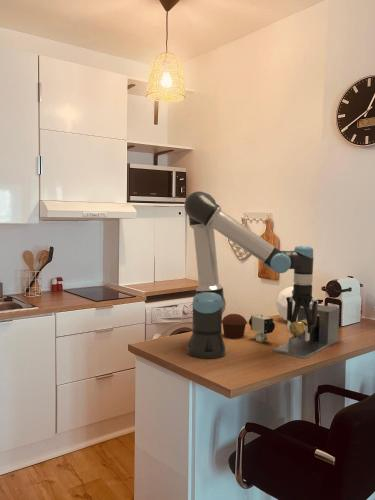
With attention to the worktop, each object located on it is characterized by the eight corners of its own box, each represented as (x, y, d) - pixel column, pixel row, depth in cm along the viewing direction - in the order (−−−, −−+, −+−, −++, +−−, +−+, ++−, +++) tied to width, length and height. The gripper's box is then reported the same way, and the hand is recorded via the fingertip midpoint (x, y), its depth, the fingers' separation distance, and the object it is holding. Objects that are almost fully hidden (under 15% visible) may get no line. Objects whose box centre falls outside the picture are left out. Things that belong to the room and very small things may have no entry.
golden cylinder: (289, 334, 181) (289, 320, 181) (304, 328, 193) (305, 314, 193) (302, 337, 178) (303, 323, 177) (317, 330, 189) (318, 317, 189)
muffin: (218, 337, 200) (218, 315, 199) (224, 332, 210) (224, 311, 209) (244, 340, 196) (244, 318, 195) (249, 334, 206) (249, 313, 206)
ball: (298, 337, 228) (297, 311, 216) (269, 317, 242) (267, 291, 229) (322, 316, 235) (322, 290, 223) (293, 298, 249) (292, 272, 236)
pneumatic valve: (267, 345, 188) (267, 317, 188) (248, 339, 198) (248, 312, 197) (276, 343, 192) (276, 316, 191) (257, 337, 201) (257, 311, 200)
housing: (273, 351, 180) (274, 315, 179) (308, 335, 206) (309, 303, 205) (305, 358, 171) (306, 320, 170) (338, 340, 198) (339, 307, 196)
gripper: (327, 285, 179) (325, 341, 181) (287, 280, 190) (285, 333, 192) (320, 287, 173) (317, 345, 175) (278, 282, 185) (277, 337, 186)
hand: (300, 339), depth 184 cm, fingers closed on golden cylinder, 5 cm apart
